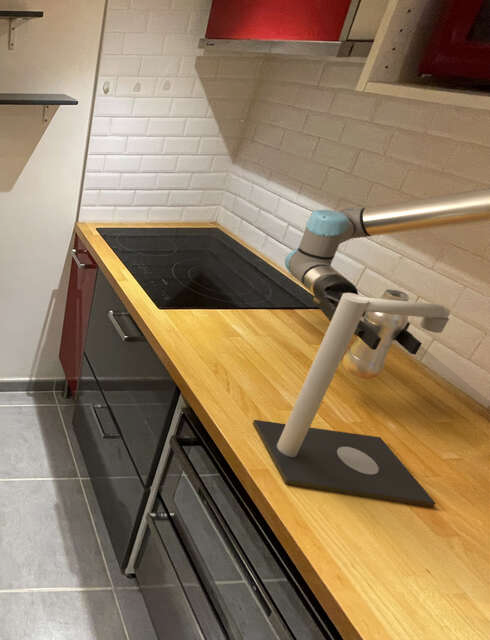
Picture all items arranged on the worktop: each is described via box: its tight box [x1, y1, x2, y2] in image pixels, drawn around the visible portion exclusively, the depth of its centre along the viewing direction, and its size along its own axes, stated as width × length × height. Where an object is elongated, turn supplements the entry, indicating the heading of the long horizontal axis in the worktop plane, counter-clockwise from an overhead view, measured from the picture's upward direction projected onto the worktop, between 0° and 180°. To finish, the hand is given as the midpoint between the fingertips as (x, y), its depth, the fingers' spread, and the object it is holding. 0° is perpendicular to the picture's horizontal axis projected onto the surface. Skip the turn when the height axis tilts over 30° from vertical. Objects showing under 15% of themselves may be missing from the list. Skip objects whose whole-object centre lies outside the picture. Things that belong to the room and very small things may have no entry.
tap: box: [252, 293, 451, 509], centre depth 77 cm, size 23×14×35 cm, turn 80°
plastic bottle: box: [342, 288, 410, 380], centre depth 92 cm, size 6×7×20 cm
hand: (396, 346), depth 87 cm, fingers closed on plastic bottle, 6 cm apart
